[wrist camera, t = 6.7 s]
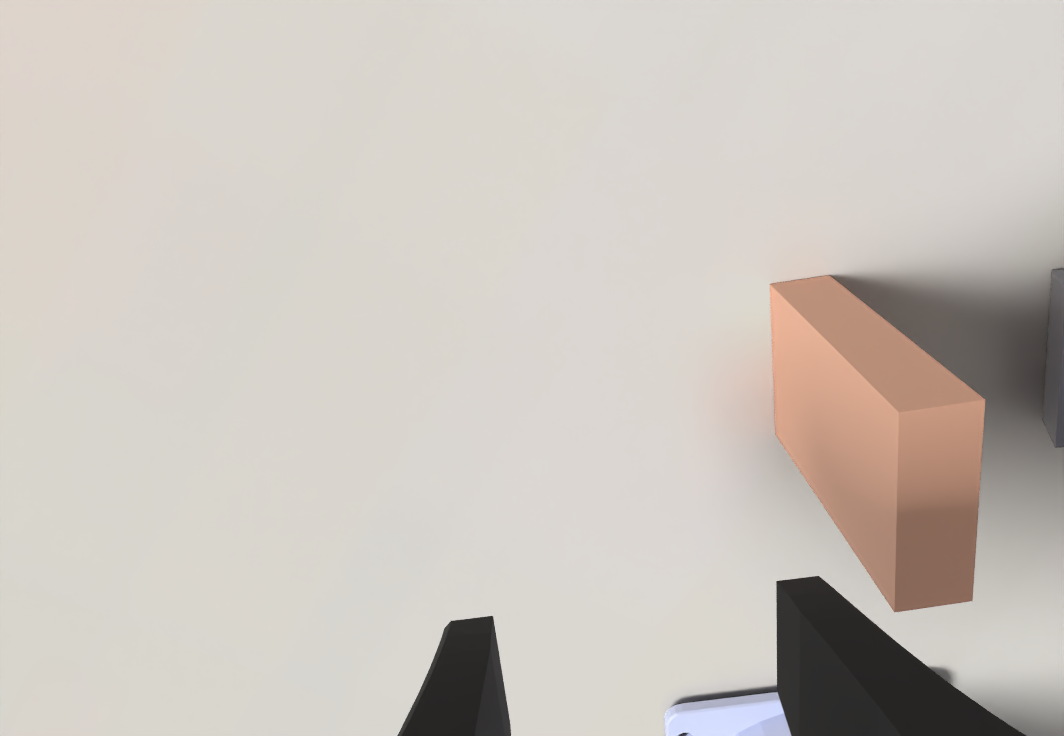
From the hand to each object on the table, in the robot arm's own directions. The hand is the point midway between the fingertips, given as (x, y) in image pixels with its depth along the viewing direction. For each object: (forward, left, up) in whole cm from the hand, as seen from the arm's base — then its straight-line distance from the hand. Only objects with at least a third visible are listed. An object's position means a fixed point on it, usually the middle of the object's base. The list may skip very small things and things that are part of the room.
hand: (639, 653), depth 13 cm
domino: (0, -6, -9) cm, 11 cm away
